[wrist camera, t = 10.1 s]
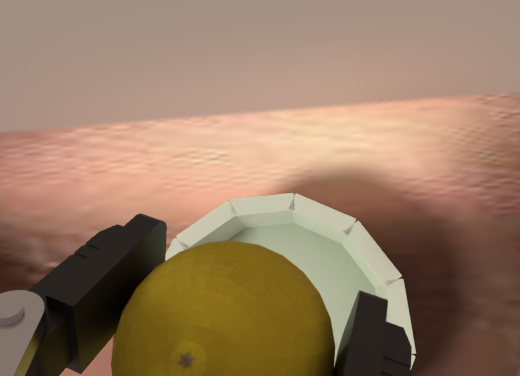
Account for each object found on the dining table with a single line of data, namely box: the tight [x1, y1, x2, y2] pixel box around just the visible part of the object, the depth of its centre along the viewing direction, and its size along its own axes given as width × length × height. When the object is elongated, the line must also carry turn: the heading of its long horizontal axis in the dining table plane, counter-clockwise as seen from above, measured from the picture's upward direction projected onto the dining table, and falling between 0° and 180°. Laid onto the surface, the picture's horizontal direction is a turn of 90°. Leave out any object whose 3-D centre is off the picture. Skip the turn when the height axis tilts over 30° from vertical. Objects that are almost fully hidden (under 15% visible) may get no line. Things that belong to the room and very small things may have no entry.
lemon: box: [111, 241, 335, 376], centre depth 11 cm, size 6×6×8 cm
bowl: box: [165, 193, 416, 370], centre depth 24 cm, size 14×14×4 cm
